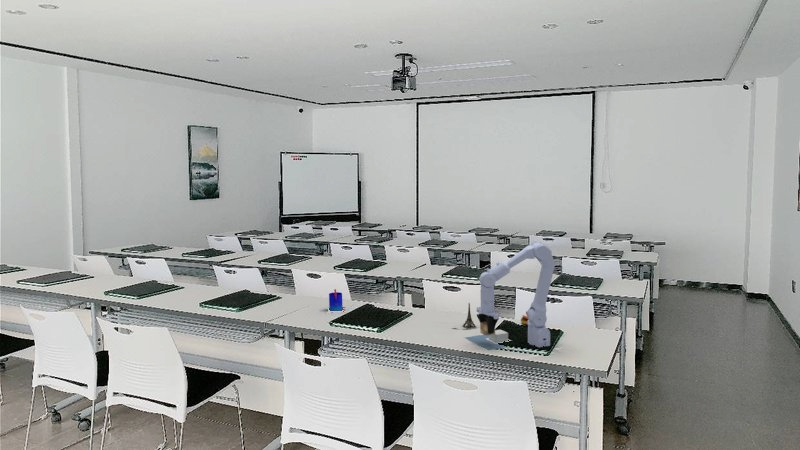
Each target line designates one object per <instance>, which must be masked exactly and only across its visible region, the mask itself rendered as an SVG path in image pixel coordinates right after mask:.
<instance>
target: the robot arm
mask: <svg viewBox="0 0 800 450" xmlns="http://www.w3.org/2000/svg"><path fill="white" fill-rule="evenodd" d="M528 259H529V260H530V259H531V260H535V259H536V260H537V261H538V263H539V264H540V265H541V268H540V272H539V277H538V280H537V284H536V290H535V294H534V296H533V297H534V298H533V301H532V302H531V304H530V307H529V308H528V309H527V310H526V312H527V315H526V316H527V317H528V319H529V322H528V325H527V343H529V344H528V345H531V346H534V345H535V347H537V348H544V347H550V346H551V330H550V329H549V328H547V326H546V323H547V319H548V317H547V305H546V304H547V301H548V295H549V291H550V287H551V284H552V279H553V275H554V270H555V266H556V265H555V259H554V257H553V254H552V250H551V249H550V248H549V246H548V245H546V244H542V242H539V241H533V242H532V243H530V244H528V245H527V246H525V247H524V248H523V249H522V250H520V251H518V253H516V254H515V255H513V256H512V257H511V258H509V259H508V260H507V261H501V262H499V261H498V262H497V263H496V265H494V266H493V267H491V268H488V269H487V270H486V271H484V272H482V273H481V274H480V276H479V278H478V281H479V283H480V306H479V307H476V312H477V314H476V317H477V318H478V321H479V323H481V322H487V326H488V333H489V334H492V333H494V329H495V330H496V326H497V325H496V324H497V323H498V321H499V320H500V314H499V313H498V312H497V311H495V287H494V286H495V284H496V282H498V281H500V280H501V279H502V278H504V277H505V276H507V275H508V274H510V271H511V269H512V268H513V267H515V266H517V265H519V264H520V263H521V262H523V261H525V260H528ZM543 346H544V347H543Z"/></svg>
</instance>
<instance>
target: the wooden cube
mask: <svg viewBox="0 0 800 450" xmlns="http://www.w3.org/2000/svg"><path fill="white" fill-rule="evenodd" d="M479 323H480V322H479ZM479 328H480V330H479V332H480V334H481V335H493V334H495V330H496V328H495V329H494V333H492V334H489V333H488V326H487V322H481V323H480V326H479Z"/></svg>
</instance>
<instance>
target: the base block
mask: <svg viewBox="0 0 800 450" xmlns="http://www.w3.org/2000/svg"><path fill="white" fill-rule="evenodd" d="M489 339H490V340H492V341H494V342H496V343H498V342H504V341H508V339H509V332H507V331H505V330H502V329H495V334H493V335H489Z"/></svg>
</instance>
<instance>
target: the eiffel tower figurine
mask: <svg viewBox="0 0 800 450" xmlns="http://www.w3.org/2000/svg"><path fill="white" fill-rule="evenodd" d="M467 309H468V311H467V316H466V317H467V318H466V320H465V322H464V323H463V325H462V326H461V327H462V328H463V329H462V331H470V330H475V329H478V327H477V326H476V325H475V323H474V321H473V319H472V314H471V303H470V302H468V308H467ZM451 329H452V330H457V328H456V327H452V328H451ZM458 330H460V331H461V329H459V328H458Z"/></svg>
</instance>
